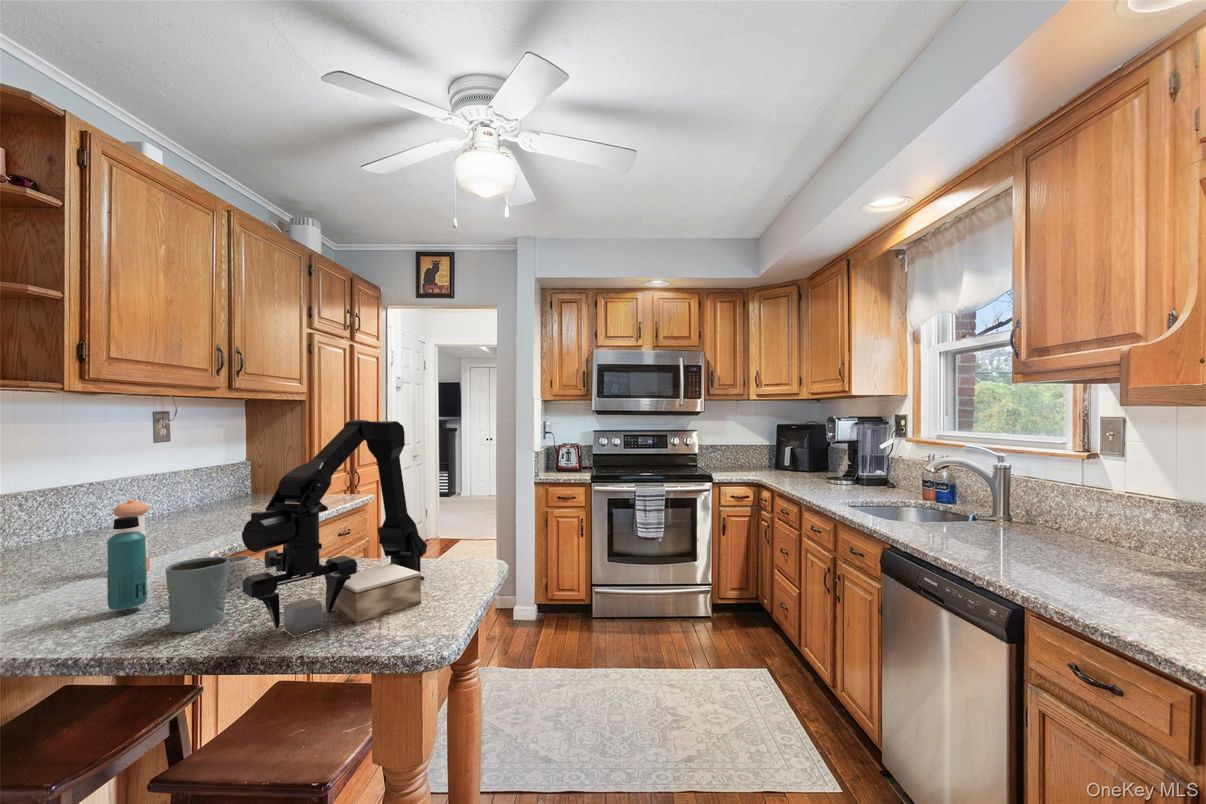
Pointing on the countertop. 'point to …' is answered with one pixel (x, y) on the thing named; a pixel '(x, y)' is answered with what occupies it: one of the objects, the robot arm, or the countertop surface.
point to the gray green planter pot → (196, 593)
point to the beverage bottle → (126, 566)
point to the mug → (237, 571)
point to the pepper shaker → (133, 510)
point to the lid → (378, 577)
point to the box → (378, 599)
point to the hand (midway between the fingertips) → (303, 619)
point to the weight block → (302, 616)
